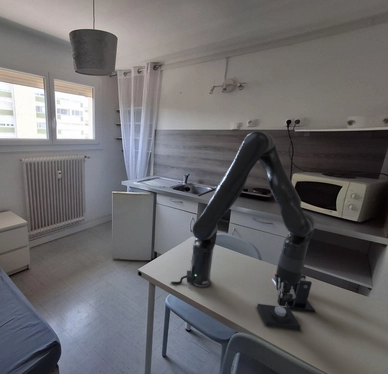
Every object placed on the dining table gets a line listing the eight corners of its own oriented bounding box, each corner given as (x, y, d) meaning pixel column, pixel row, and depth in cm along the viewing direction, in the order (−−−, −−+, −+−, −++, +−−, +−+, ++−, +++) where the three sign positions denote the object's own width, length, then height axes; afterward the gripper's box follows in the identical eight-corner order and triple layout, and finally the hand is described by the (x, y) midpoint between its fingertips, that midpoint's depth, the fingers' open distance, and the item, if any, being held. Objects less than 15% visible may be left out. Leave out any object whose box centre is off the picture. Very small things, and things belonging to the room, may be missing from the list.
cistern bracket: (288, 309, 93) (294, 283, 89) (279, 295, 100) (284, 271, 97) (314, 312, 91) (321, 286, 88) (303, 298, 99) (309, 273, 96)
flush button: (276, 316, 84) (277, 312, 84) (272, 309, 88) (273, 305, 87) (287, 317, 84) (288, 313, 84) (282, 310, 87) (283, 306, 87)
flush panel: (265, 326, 84) (267, 317, 83) (256, 307, 93) (258, 299, 92) (299, 330, 83) (301, 322, 82) (287, 311, 91) (289, 303, 90)
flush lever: (276, 289, 93) (276, 284, 92) (271, 282, 98) (271, 277, 97) (308, 288, 91) (308, 283, 90) (301, 280, 95) (301, 275, 95)
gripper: (271, 254, 87) (263, 291, 92) (288, 275, 75) (278, 317, 79) (292, 256, 86) (283, 293, 91) (312, 278, 74) (301, 320, 78)
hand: (281, 304), depth 85 cm, fingers closed
